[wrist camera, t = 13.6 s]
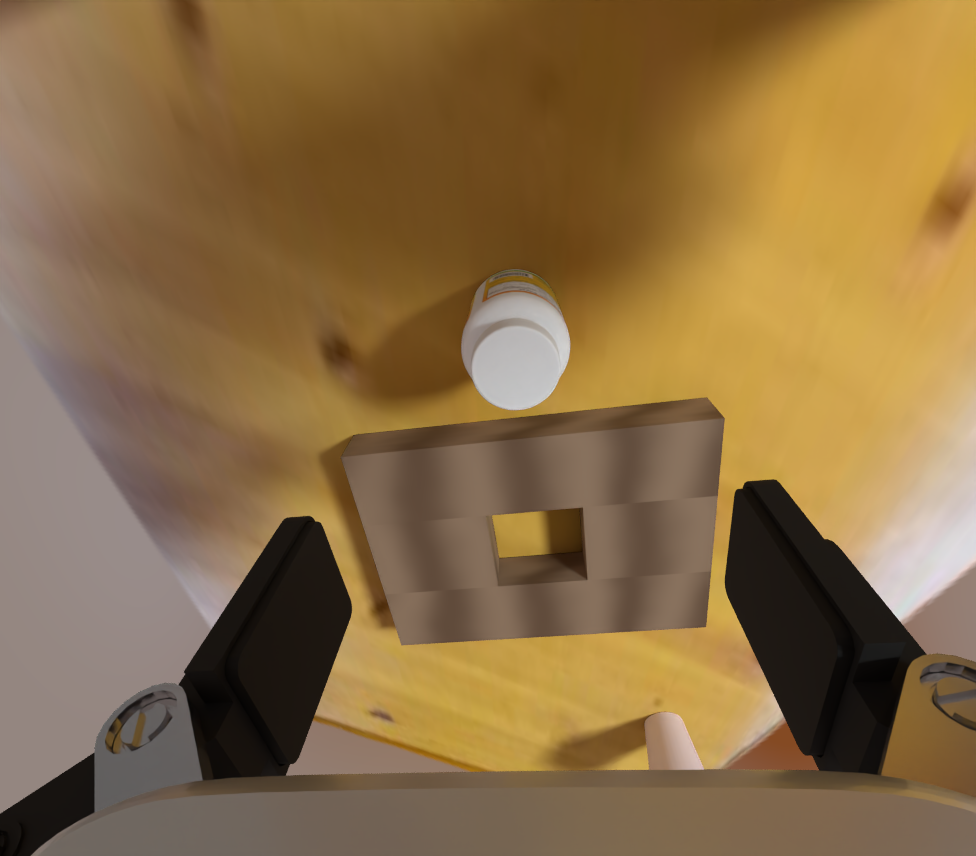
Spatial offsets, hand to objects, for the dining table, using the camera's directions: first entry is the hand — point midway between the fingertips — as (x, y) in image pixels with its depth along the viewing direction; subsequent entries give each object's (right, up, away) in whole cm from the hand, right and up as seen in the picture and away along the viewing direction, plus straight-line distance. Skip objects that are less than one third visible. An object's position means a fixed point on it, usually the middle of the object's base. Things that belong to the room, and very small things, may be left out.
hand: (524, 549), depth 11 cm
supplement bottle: (+1, +10, +19) cm, 22 cm away
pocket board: (+3, -4, +26) cm, 27 cm away
